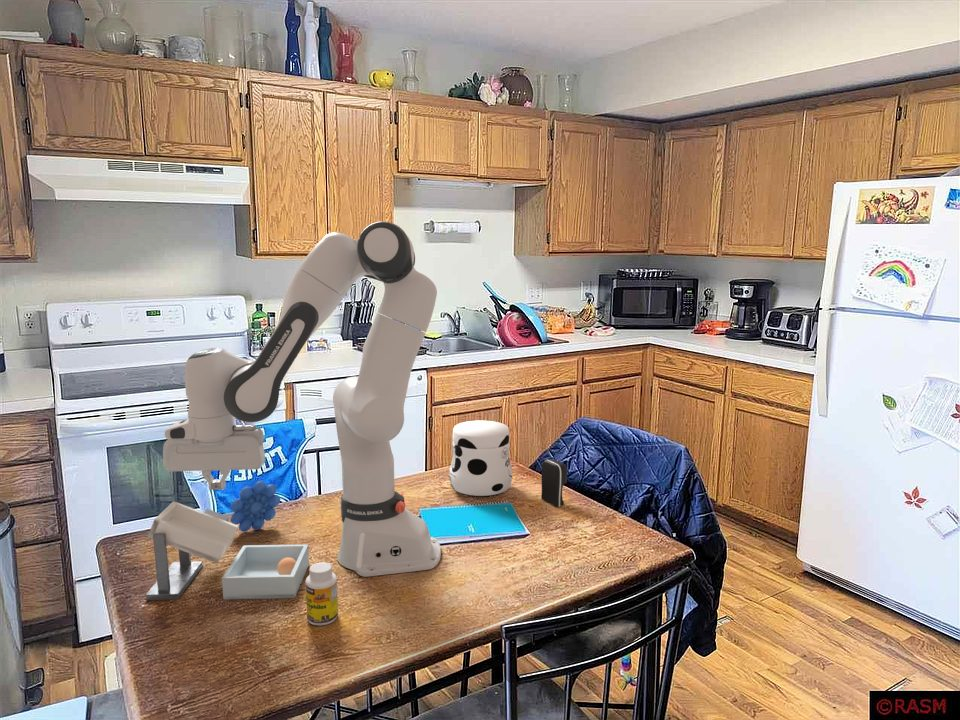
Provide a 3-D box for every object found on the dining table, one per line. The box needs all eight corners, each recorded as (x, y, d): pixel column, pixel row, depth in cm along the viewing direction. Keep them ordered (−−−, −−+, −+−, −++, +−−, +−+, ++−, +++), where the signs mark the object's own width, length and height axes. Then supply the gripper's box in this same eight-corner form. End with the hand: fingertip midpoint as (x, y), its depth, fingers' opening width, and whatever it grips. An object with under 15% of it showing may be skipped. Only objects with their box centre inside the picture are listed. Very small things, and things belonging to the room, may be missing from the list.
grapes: (277, 518, 165) (274, 472, 163) (284, 528, 159) (281, 480, 157) (227, 528, 159) (224, 480, 157) (233, 539, 153) (230, 490, 151)
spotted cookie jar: (524, 490, 184) (526, 427, 180) (481, 508, 171) (482, 441, 168) (479, 474, 195) (479, 415, 192) (436, 490, 183) (435, 428, 180)
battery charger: (568, 505, 173) (569, 463, 171) (557, 508, 171) (558, 466, 169) (551, 496, 179) (552, 456, 177) (540, 499, 177) (541, 458, 175)
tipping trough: (243, 526, 145) (249, 511, 145) (217, 563, 129) (224, 545, 128) (181, 503, 143) (187, 487, 143) (147, 537, 127) (154, 519, 127)
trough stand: (202, 566, 141) (198, 508, 138) (178, 599, 128) (172, 536, 125) (173, 567, 140) (168, 509, 138) (146, 600, 128) (140, 537, 125)
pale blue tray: (309, 563, 142) (308, 544, 141) (294, 598, 129) (293, 576, 128) (244, 565, 141) (243, 545, 140) (223, 599, 128) (221, 578, 127)
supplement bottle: (301, 624, 120) (298, 571, 118) (317, 608, 125) (315, 557, 123) (328, 629, 118) (326, 576, 116) (343, 613, 124) (341, 562, 122)
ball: (301, 556, 136) (282, 552, 136) (297, 565, 132) (277, 561, 132) (297, 573, 137) (278, 569, 137) (293, 583, 133) (273, 579, 133)
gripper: (266, 420, 142) (271, 482, 144) (169, 422, 141) (175, 484, 143) (258, 429, 136) (263, 493, 138) (156, 431, 135) (163, 495, 137)
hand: (217, 488), depth 141 cm, fingers closed
